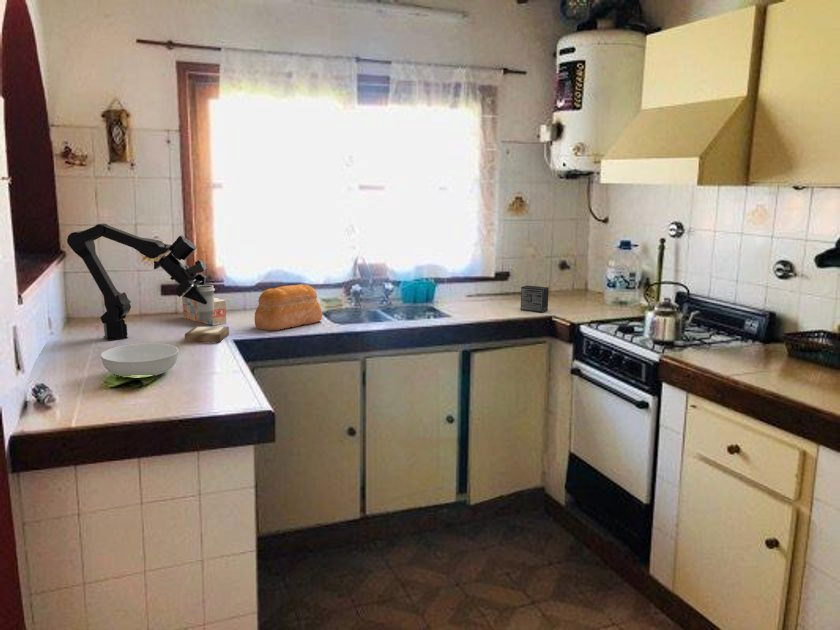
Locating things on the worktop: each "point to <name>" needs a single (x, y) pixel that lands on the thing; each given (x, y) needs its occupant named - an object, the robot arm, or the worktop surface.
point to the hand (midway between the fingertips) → (209, 301)
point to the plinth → (206, 334)
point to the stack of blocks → (192, 313)
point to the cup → (207, 309)
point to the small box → (534, 298)
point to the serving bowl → (140, 359)
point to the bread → (287, 307)
